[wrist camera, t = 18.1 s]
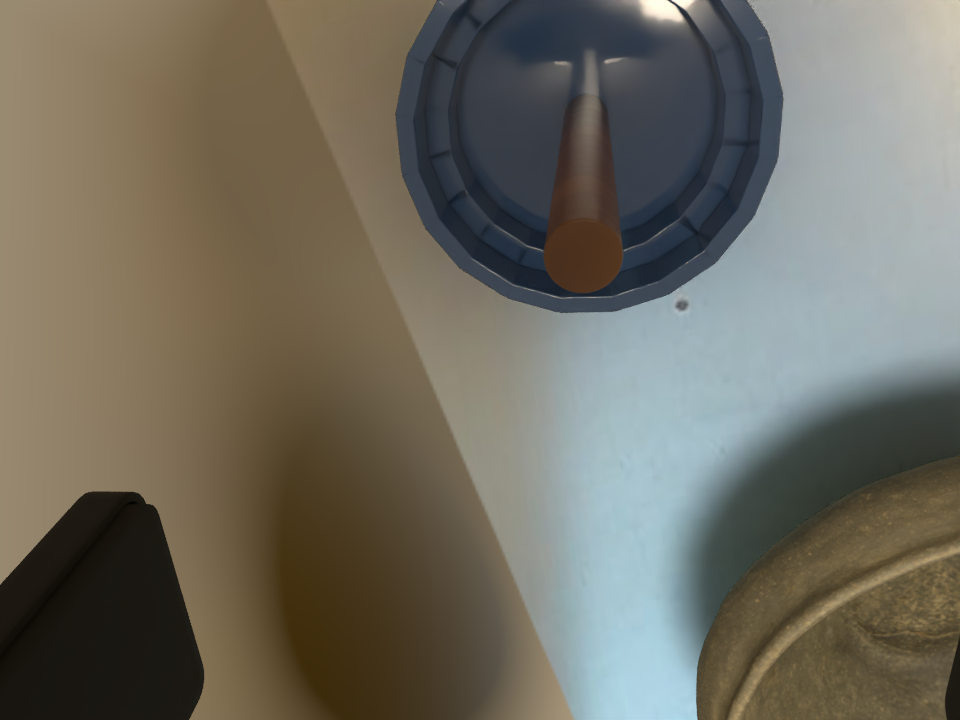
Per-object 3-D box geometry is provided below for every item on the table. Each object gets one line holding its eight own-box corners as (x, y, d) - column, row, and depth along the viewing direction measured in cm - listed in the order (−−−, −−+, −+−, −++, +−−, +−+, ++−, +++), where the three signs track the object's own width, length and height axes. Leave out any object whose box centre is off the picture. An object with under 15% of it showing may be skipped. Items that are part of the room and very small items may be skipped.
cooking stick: (565, 139, 39) (544, 294, 22) (564, 95, 39) (541, 219, 21) (608, 137, 39) (623, 293, 21) (607, 93, 38) (623, 217, 20)
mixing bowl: (437, 271, 44) (416, 316, 39) (406, -59, 37) (375, -60, 32) (743, 263, 42) (765, 309, 36) (768, -88, 35) (800, -95, 30)
